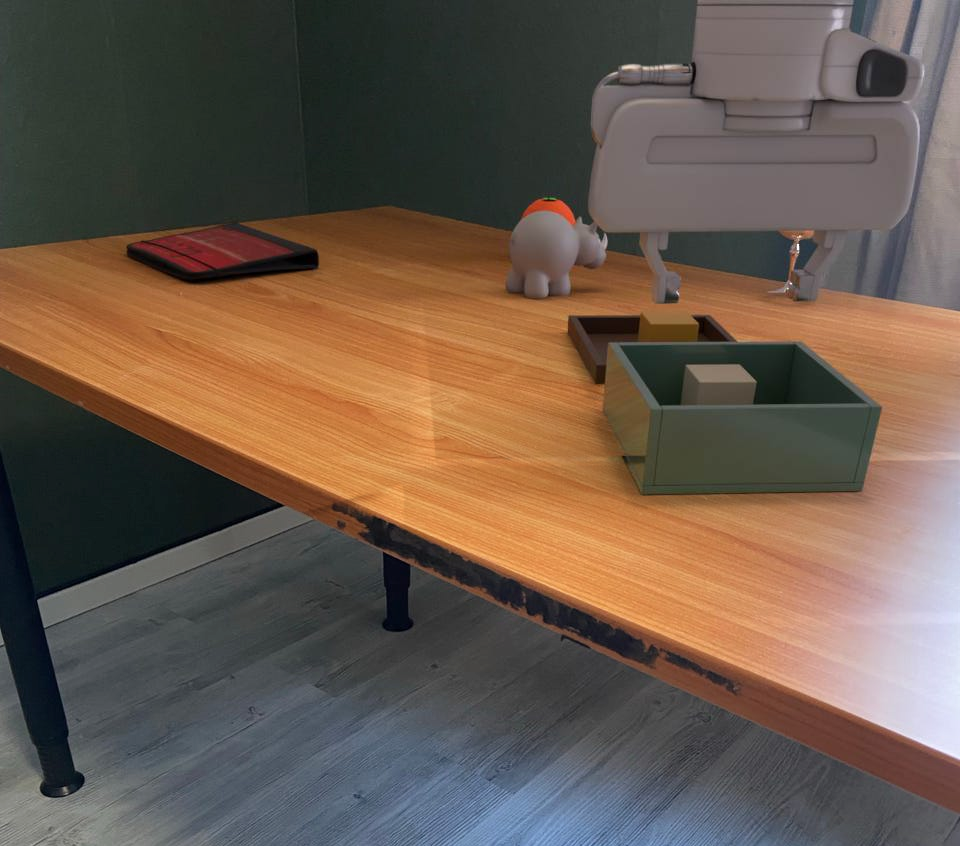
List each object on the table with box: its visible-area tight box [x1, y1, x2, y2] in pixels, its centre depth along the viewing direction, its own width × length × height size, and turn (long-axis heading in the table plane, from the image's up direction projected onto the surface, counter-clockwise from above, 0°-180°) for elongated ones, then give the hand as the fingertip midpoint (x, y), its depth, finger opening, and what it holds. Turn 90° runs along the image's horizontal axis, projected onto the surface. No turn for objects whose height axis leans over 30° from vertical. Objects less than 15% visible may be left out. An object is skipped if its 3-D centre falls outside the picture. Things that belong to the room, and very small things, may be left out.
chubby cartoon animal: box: [504, 211, 608, 300], centre depth 105 cm, size 7×12×8 cm, turn 119°
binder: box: [125, 221, 320, 280], centre depth 119 cm, size 16×2×21 cm
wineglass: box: [766, 231, 814, 294], centre depth 105 cm, size 6×6×12 cm
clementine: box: [520, 196, 576, 226], centre depth 122 cm, size 8×7×7 cm
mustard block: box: [638, 310, 699, 342], centre depth 83 cm, size 4×4×4 cm
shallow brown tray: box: [567, 314, 739, 385], centre depth 86 cm, size 13×15×2 cm
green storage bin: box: [602, 340, 883, 496], centre depth 68 cm, size 14×14×6 cm
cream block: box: [681, 364, 756, 405], centre depth 70 cm, size 4×4×4 cm
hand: (733, 300), depth 67 cm, fingers open, 8 cm apart
